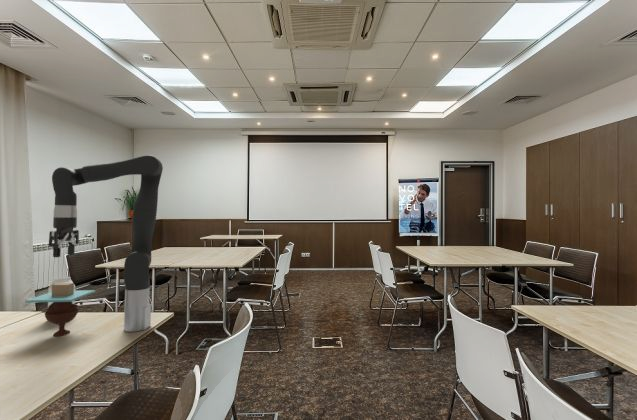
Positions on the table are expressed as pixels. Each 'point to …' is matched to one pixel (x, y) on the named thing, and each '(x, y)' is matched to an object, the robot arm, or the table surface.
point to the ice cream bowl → (61, 315)
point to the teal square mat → (61, 294)
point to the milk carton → (61, 280)
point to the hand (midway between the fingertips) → (64, 255)
